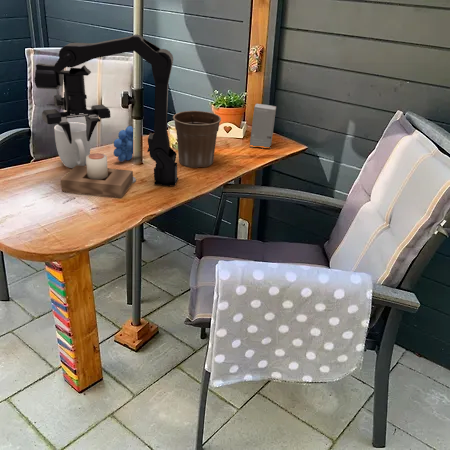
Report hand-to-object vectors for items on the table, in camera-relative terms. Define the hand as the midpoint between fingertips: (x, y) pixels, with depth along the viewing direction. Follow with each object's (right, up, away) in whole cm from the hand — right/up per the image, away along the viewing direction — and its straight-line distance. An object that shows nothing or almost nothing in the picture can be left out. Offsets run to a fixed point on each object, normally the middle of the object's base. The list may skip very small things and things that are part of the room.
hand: (79, 142), depth 148 cm
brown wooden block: (+6, -14, +1) cm, 15 cm away
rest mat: (+12, -11, +6) cm, 18 cm away
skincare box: (+58, +6, +44) cm, 73 cm away
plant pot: (+34, -3, +24) cm, 42 cm away
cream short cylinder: (+6, -10, -1) cm, 12 cm away
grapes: (+10, -3, +23) cm, 25 cm away
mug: (-5, -6, +15) cm, 17 cm away
